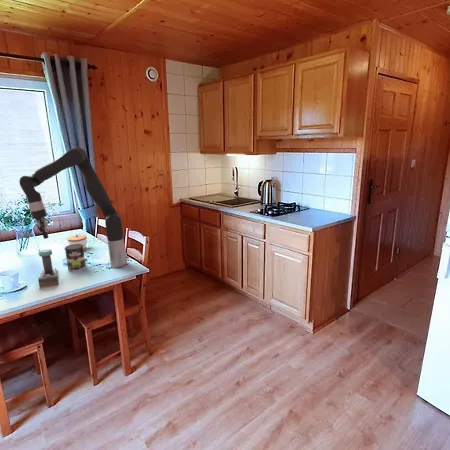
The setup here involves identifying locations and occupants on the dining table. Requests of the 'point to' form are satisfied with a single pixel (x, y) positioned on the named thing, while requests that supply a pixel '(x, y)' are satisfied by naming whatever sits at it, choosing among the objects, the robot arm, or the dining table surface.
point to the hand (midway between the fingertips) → (46, 238)
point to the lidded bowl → (78, 240)
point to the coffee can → (75, 257)
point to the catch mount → (48, 279)
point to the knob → (47, 261)
